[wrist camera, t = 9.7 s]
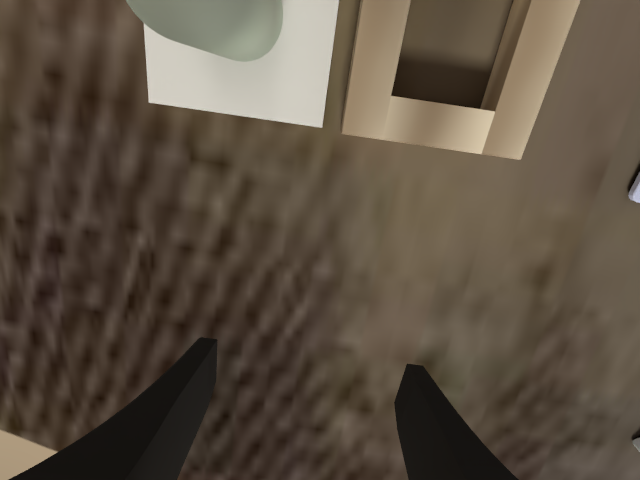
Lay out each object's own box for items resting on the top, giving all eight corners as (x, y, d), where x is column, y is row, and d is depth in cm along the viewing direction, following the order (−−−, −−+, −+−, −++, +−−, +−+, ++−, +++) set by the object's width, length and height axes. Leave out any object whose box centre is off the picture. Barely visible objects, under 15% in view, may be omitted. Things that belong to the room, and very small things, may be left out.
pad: (351, -92, 15) (351, -97, 14) (322, 126, 18) (322, 127, 18) (138, -128, 14) (133, -134, 14) (152, 101, 18) (149, 102, 18)
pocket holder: (576, -54, 15) (606, -71, 13) (503, 153, 19) (520, 159, 17) (374, -88, 15) (380, -110, 13) (340, 129, 18) (341, 133, 17)
